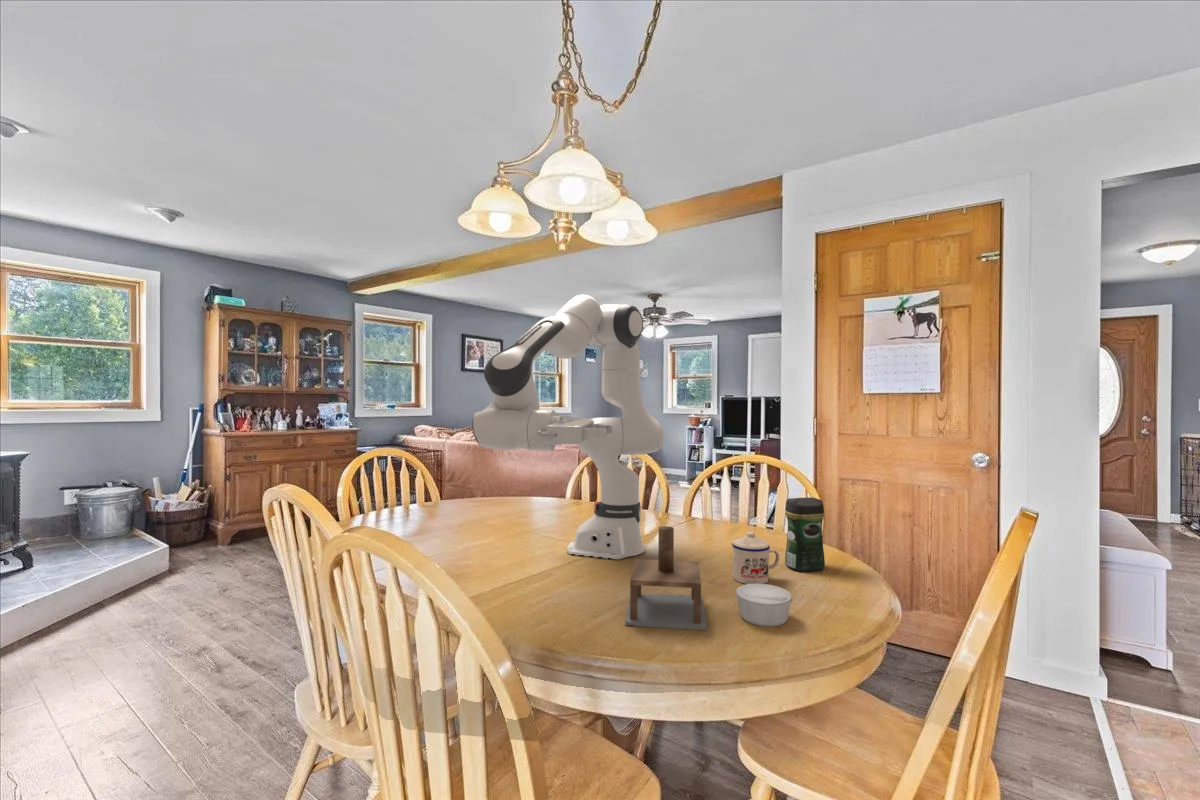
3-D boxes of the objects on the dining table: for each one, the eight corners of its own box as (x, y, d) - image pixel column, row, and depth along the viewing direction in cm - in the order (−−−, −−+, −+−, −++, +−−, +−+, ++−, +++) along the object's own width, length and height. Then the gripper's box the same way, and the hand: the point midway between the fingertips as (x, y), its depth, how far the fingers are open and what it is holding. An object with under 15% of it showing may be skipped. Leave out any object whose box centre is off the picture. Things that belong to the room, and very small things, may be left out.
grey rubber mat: (625, 625, 111) (625, 621, 111) (631, 596, 127) (631, 592, 127) (706, 630, 109) (706, 626, 109) (702, 599, 125) (702, 596, 125)
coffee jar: (812, 562, 153) (813, 494, 152) (829, 571, 145) (830, 500, 144) (779, 563, 151) (780, 495, 151) (795, 573, 143) (795, 501, 143)
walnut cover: (630, 619, 112) (630, 535, 112) (635, 594, 126) (635, 519, 126) (700, 623, 110) (701, 537, 110) (697, 597, 124) (698, 521, 124)
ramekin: (759, 633, 108) (759, 606, 108) (724, 612, 118) (724, 587, 118) (804, 623, 112) (804, 597, 112) (766, 604, 123) (766, 580, 123)
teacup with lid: (739, 586, 134) (740, 537, 133) (726, 573, 143) (726, 528, 142) (787, 584, 135) (787, 536, 135) (771, 572, 144) (771, 527, 144)
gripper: (533, 419, 110) (603, 419, 108) (555, 413, 130) (614, 413, 129) (533, 450, 110) (603, 452, 108) (555, 439, 131) (614, 440, 129)
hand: (609, 431), depth 119 cm, fingers open, 8 cm apart
